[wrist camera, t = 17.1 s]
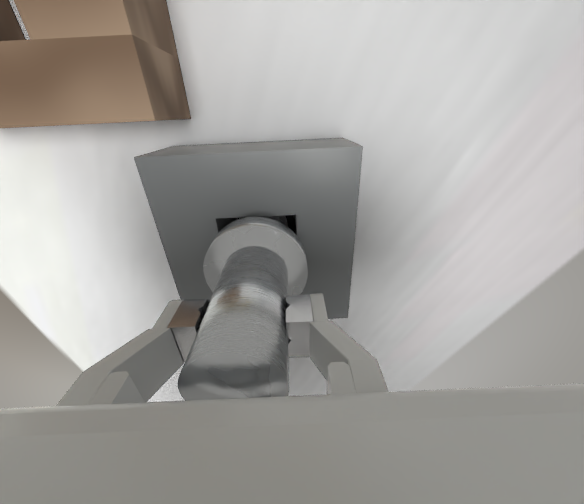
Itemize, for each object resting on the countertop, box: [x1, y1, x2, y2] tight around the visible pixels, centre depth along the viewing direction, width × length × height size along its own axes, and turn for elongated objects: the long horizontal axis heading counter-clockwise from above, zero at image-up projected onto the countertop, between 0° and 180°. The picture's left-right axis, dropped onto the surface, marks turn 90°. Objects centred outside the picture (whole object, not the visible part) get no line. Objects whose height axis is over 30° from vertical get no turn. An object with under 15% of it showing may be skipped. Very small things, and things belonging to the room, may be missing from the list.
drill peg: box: [178, 215, 308, 401], centre depth 13 cm, size 5×5×12 cm
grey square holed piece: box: [134, 138, 363, 319], centre depth 17 cm, size 11×11×5 cm
